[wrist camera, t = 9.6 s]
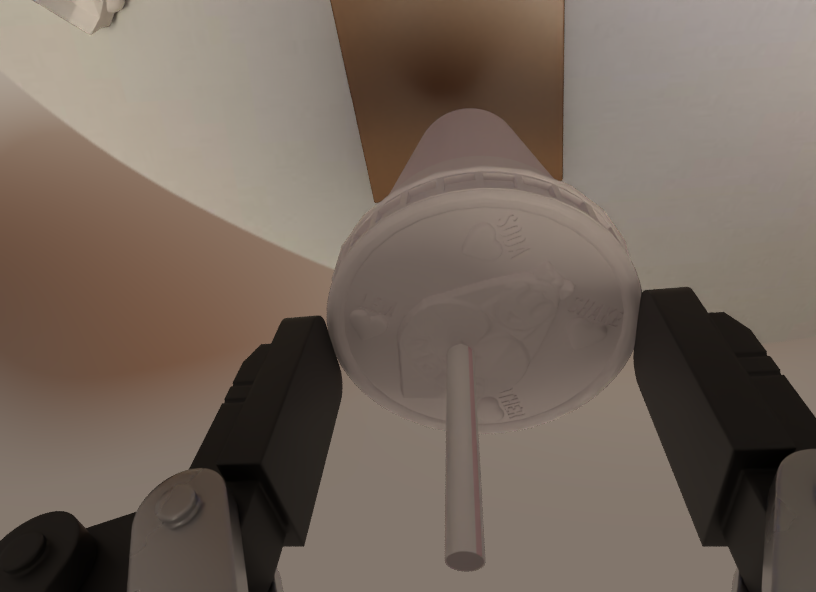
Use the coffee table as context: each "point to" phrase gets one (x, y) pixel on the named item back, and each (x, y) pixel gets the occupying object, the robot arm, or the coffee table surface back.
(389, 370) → the smoothie
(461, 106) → the coaster
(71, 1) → the toy car
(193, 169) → the coffee table surface
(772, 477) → the robot arm
